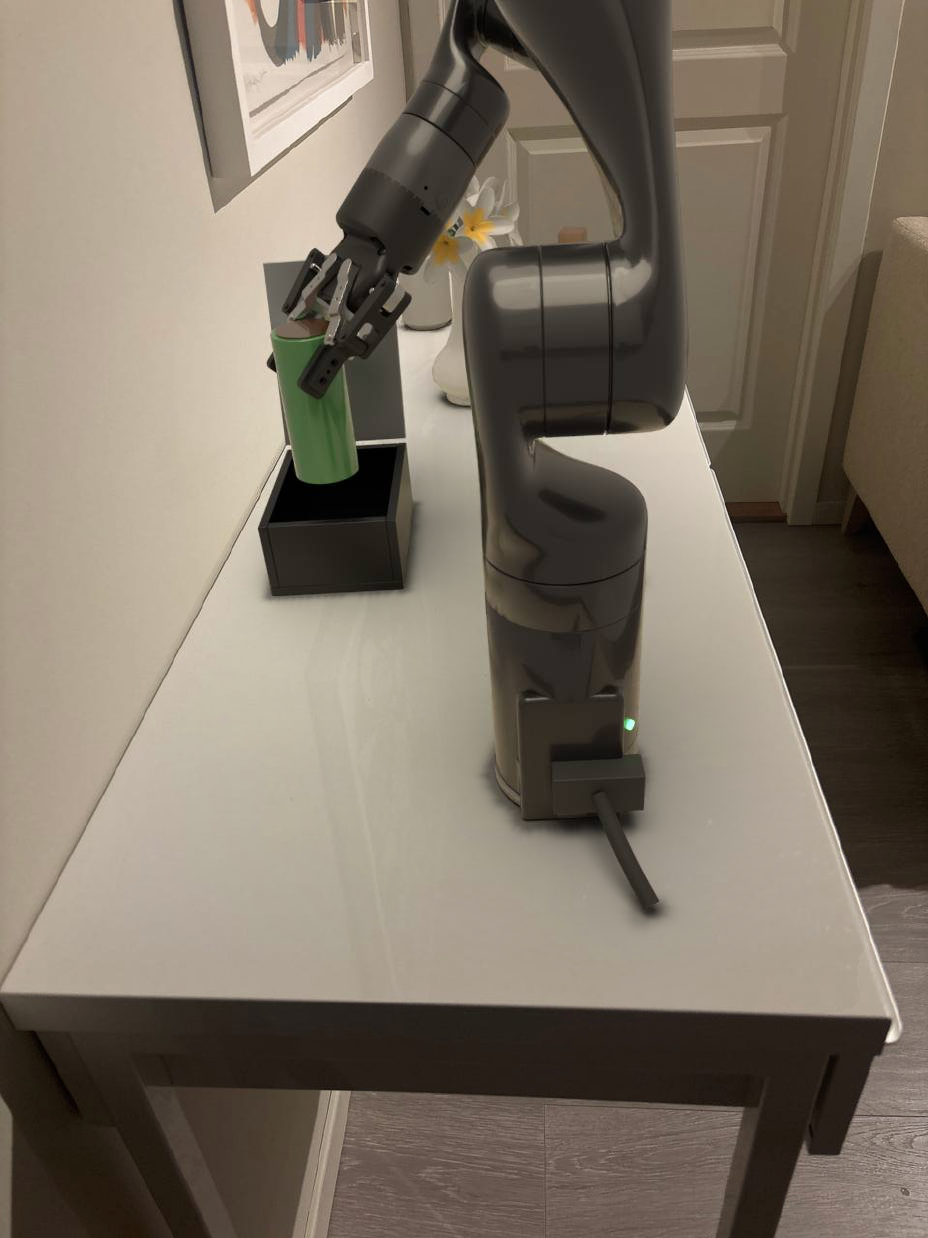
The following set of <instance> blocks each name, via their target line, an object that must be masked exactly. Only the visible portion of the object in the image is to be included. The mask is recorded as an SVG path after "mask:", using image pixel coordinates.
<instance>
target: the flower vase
mask: <svg viewBox="0 0 928 1238" xmlns="http://www.w3.org/2000/svg"><path fill="white" fill-rule="evenodd" d="M468 189H469V192H467V194H466V198H465V196H464V197H463V199H462V201H461V203H460V205H459V206H458V208H457V210H456V211H455V213H454V214H453V216H452V218H451V219H450V221H449V222H448V224H447V226H446V227H445V229H444V230H443V232H442V234H441V235H440V237H439V238H438V240H437V242H436V243H435V245H434V246H433V248H432V250H431V251H430V253H429V255H431V254H432V255H431V256H430V257H429V259H428V261H427V263H426V265H425V268H424V272H423V277H424V281H425V283H427V284H429V285H431V284H434V283H436V282H437V281H438V280H439V279H440V277H441V276H442V274H443V272H444V270H445V267H446V264H447V267H448V270H449V274H450V277H451V278H450V279H451V281H450V282H451V306H452V318H451V320H452V321H451V327H450V333H449V336H448V338H447V341H446V344H445V345H444V347H443V348H441V350H440V351H439V353H438V354H437V356H436V357H435V358H434V361H433V364H432V367H431V368H432V369H431V377H432V380H433V382H434V383H435V385H436V386H437V387H438V388H439V389H440V390H441V391H442V392H443V393H445V394H446V399H447V400H448V401H449V403H452V404H454V405H458V406H467V407H471V405H470V398H469V390H468V383H467V375H466V368H465V357H464V347H463V336H462V298H463V288H464V283H465V279H466V275H467V272H468V269H469V267H470V265H471V263H472V262H473V260H474V258H475V257H476V256H477V255H478V254H479V253H478V252H479V250H480V252H483V251H485V250H488V249H492V248H498V246H497V243H496V241H495V239H494V238H493V237H492V236H503V237H504V238H505V240H506V241H507V243H508V244H509V246H515V244H516V246H520V245H524V243H523V239H522V237H521V234H520V232H519V230H518V229H517V227H516V226H515V222H517V220H518V219H519V216H520V211H521V209H520V204H519V202H518V201H517V200H513V201H511V202H509V197H510V189H509V182H508V180H507V179H505V180H504V183H503V187H502V191H501V195H500V199H499V201H495V200H496V199H497V197H498V195H499V193H500V190H501V189H500V182H499V180H498V179H497V178H496V177H495V176H489V177H487V178H486V179H485V181H484V182H483V184H482V186H481V187H480V182H479V180H478V178H477V177H476V175H475V174H474V176H473V178H472V180H471V182H470V184H469V186H468ZM508 202H509V204H508ZM457 223H458V224H457ZM453 228H454V229H453ZM429 255H428V256H429Z"/></svg>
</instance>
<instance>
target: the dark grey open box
mask: <svg viewBox="0 0 928 1238" xmlns="http://www.w3.org/2000/svg"><path fill="white" fill-rule="evenodd" d="M356 446H357V453H358V460H359V469H358V471H357V472H356V473H355V474H354V475H353V476H351V477H349V478H347V479H345V480H342V481H339V482H335V483H329V484H311V483H306V482H303V481H301V480H300V479H298V477H297V476H296V472H295V467H294V461H293V456H292V450H291V448H290V449H287V450H286V453H285V455H284V458H283V461H282V462H281V466H280V468H279V470H278V474H277V476H276V479H275V482H274V484H273V487H272V488H271V492H270V494H269V497H268V500H267V502H266V505H265V507H264V510H263V513H262V516H261V518H260V521H259V524H258V526H257V531H258V537H259V541H260V546H261V550H262V554H263V558H264V564H265V570H266V572H267V579H268V583H269V587H270V592H271V596H292V595H293V596H294V595H307V594H308V595H310V594H312V595H313V594H328V593H329V594H331V593H348V592H349V593H351V592H365V591H366V592H369V591H387V590H388V591H389V590H403V589H405V582H406V573H407V563H408V554H409V547H410V546H409V545H410V537H411V535H410V534H411V528H412V518H413V511H414V510H413V509H414V500H413V491H412V490H413V489H412V483H411V482H412V481H411V473H410V463H409V462H410V461H409V453H408V445H407V442H405V441H404V442H391V443H390V442H389V443H375V444H373V443H371V444H360V445H359V444H356Z"/></svg>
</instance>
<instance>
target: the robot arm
mask: <svg viewBox="0 0 928 1238" xmlns="http://www.w3.org/2000/svg"><path fill="white" fill-rule="evenodd" d="M673 21H674V0H449V4H448V8H447V11H446V14H445V18H444V21H443V24H442V27H441V30H440V33H439V36H438V38H437V41H436V45H435V48H434V50H433V54H432V55H431V59H430V62H429V65H428V67H427V70H426V72H425V74H424V75H423V77H422V78H421V80H420V81H419V83H418V85H417V87H416V88H415V90H414V92H413V93H412V94H411V97H410V98H409V99H408V101H407V103H406V104H405V106H404V108H403V109H402V111H401V113H400V114H399V116H398V118H397V119H396V120H395V122H394V123H393V124H392V125H391V127H390V128H389V129H388V130H387V131H386V132H385V134H384V135H383V137H382V138H381V139H380V141H379V143H378V144H377V146H376V147H375V149H374V150H373V153H372V154H371V156H370V157H369V158H368V161H367V162H366V164H365V166H364V167H363V169H362V170H361V172H360V174H359V175H358V176H357V178H356V180H355V182H354V184H353V185H352V187H351V188H350V190H349V192H348V193H347V195H346V197H345V198H344V200H343V202H342V203H341V205H340V206H339V208H338V210H337V211H336V214H335V222H336V224H337V226H338V227H339V229H340V230H342V235H343V237H342V239H341V240H340V241H339V242H338V244H337V245H336V246H335V247H334V248H333V249H332V250H330V252H329V254H324V253H323V252H322V251H321V250H319V249H318V248H317V247H314V248H312V249H311V250H310V251H309V253H308V254H307V256H306V258H305V259H304V260H305V262H304V264H303V266H302V268H301V270H300V272H299V275H298V277H297V279H296V281H295V283H294V285H293V287H292V289H291V291H290V293H289V295H288V297H287V299H286V301H285V303H284V305H283V307H282V312H283V313H285V314H286V315H287V316H288V318H287V323H289V322H293V321H298V320H305V319H314V318H315V316H316V314H317V313H318V314H319V315H318V317H317V318H316V319H323V320H328V321H330V323H329V326H328V329H327V332H326V334H325V337H324V341H323V342H324V344H325V345H326V346H323V345H322V344H320V345H319V346H318V348H317V350H316V351H315V353H314V354H313V356H312V358H311V359H310V361H309V363H308V364H307V366H306V367H305V369H304V371H303V372H302V374H301V376H300V377H299V379H298V381H297V386H298V388H299V389H301V390H302V391H304V392H305V393H307V394H309V395H310V396H312V397H313V398H315V399H317V400H319V399H321V398H322V397H323V396H324V394H325V393H326V391H327V389H328V388H329V386H330V385H331V383H332V381H333V380H334V378H335V377H336V375H337V373H338V372H339V370H340V368H341V367H342V365H343V364H344V362H345V361H346V360H348V361H351V360H352V359H353V358H354V357H355V356H358V357H360V358H361V359H363V360H365V359H367V358H368V357H369V356H370V355H371V354H372V352H373V351H374V350H375V348H376V347H377V346H378V344H379V343H380V342H381V341H382V339H383V338H384V337H385V335H386V334H387V333H388V331H389V330H390V329H391V328H392V326H393V325H394V324H395V322H396V321H397V322H398V320H399V319H400V318H401V317H402V313H403V312H404V311H405V309H406V308H407V307H408V305H409V304H410V302H411V300H412V296H411V295H410V294H409V293H408V292H406V291H405V289H403V288H402V287H401V286H400V285H399V283H397V282H398V275H399V273H403V274H406V275H414V274H416V273H417V272H418V271H419V269H420V267H421V266H422V264H423V263H424V261H425V259H426V258H427V256H428V255H429V253H430V251H431V250H432V248H433V246H434V245H435V243H436V242H437V240H438V238H439V237H440V235H441V234H442V232H443V230H444V229H445V227H446V226H447V224H448V222H449V221H450V219H451V218H452V216H453V214H454V213H455V211H456V210H457V208H458V206H459V205H460V203H461V201H462V199H463V197H464V198H465V195H466V193H467V191H468V189H469V184H470V182H471V180H472V178H473V176H474V175H475V174H476V172H477V171H478V169H479V168H480V166H481V165H482V163H483V162H484V160H485V158H486V157H487V155H488V154H489V152H490V150H491V148H492V147H493V146H494V144H495V142H496V140H497V139H498V137H499V135H500V134H501V132H502V130H503V129H504V127H505V125H506V123H507V121H508V119H509V116H510V113H511V112H510V111H511V103H510V98H509V95H508V93H507V92H506V89H505V88H504V87H503V85H501V83H500V82H499V80H498V79H497V78H496V77H495V76H494V75H493V74H492V73H491V71H489V70H488V69H487V68H486V67H485V66H484V65H483V64H482V63H480V61H481V58H482V56H483V55H484V52H485V51H486V50H487V48H491V49H493V50H495V51H496V52H498V53H499V54H502V55H504V56H505V57H507V58H509V59H511V60H512V61H515V62H517V63H518V64H520V65H522V66H524V67H526V68H527V69H529V70H532V71H534V72H537V73H540V74H541V75H542V77H543V79H544V80H545V81H546V82H547V84H548V85H549V87H550V88H551V90H552V91H553V93H554V94H555V96H556V97H557V99H558V100H559V102H560V103H561V105H562V106H563V108H564V109H565V111H566V113H567V114H568V116H569V117H570V119H571V121H572V123H573V125H574V127H575V128H576V130H577V132H578V134H579V136H580V138H581V141H582V142H583V144H584V146H585V148H586V150H587V153H588V154H589V156H590V160H591V161H592V164H593V166H594V169H595V171H596V173H597V175H598V178H599V182H600V185H601V187H602V190H603V194H604V196H605V200H606V204H607V208H608V211H609V212H608V213H609V215H610V216H609V217H610V220H611V225H612V230H613V231H612V232H613V237H614V238H613V239H604V241H602V240H589V241H588V240H587V241H586V242H570V243H558V242H557V243H556V242H555V243H540V244H523V245H520V246H518V245H514V246H510V245H508V246H500V247H498V246H497V248H492V249H488V250H485V251H483V252H482V251H480V252H479V253H478V255H477V256H476V257H475V258H474V260H473V262H472V263H471V265H470V267H469V269H468V272H467V275H466V279H465V283H464V288H463V298H462V336H463V347H464V357H465V368H466V375H467V383H468V390H469V398H470V405H471V406H470V411H471V412H470V413H471V419H472V426H473V435H474V445H475V454H476V463H477V475H478V476H477V477H478V491H479V509H480V510H479V512H480V535H481V550H482V551H481V554H482V569H483V570H482V571H483V582H484V584H483V585H484V586H483V587H484V601H485V602H484V603H485V604H484V605H485V618H486V619H485V620H486V632H487V633H486V635H487V649H488V663H489V676H490V678H489V679H490V694H491V707H492V709H491V711H492V721H493V722H492V724H493V734H494V748H495V751H494V752H495V753H494V772H495V777H496V780H497V783H498V785H499V787H500V789H501V790H502V791H503V793H504V794H505V795H506V796H507V797H508V798H509V799H510V800H511V801H512V802H514V803H516V804H517V805H518V806H519V807H520V810H521V817H522V819H524V820H540V819H541V820H545V819H576V818H589V817H590V818H591V817H598V818H599V819H598V820H599V821H600V823H601V826H602V829H603V830H604V833H605V836H606V838H607V840H608V842H609V844H610V847H611V849H612V851H613V853H614V855H615V858H616V859H617V862H618V864H619V865H620V868H621V870H622V871H623V873H624V876H625V877H626V880H627V881H628V884H629V885H630V887H631V889H632V891H633V892H634V894H635V896H636V898H637V900H638V902H639V903H640V905H641V907H642V910H647V909H648V908H650V907H653V906H654V905H656V904H658V903H659V902H660V900H659V897H658V896H657V894H656V892H655V890H654V888H653V886H652V885H651V883H650V881H649V879H648V877H647V875H646V874H645V872H644V870H643V869H642V866H641V864H640V862H639V860H638V859H637V856H636V855H635V853H634V850H633V848H632V847H631V844H630V842H629V840H628V837H627V836H626V833H625V831H624V829H623V827H622V825H621V821H620V819H619V818H618V816H620V815H621V814H622V812H637V811H639V812H641V811H644V810H645V796H646V794H645V793H646V792H645V791H646V772H645V767H644V763H643V758H642V754H641V753H638V746H639V745H638V742H639V723H640V722H639V718H640V717H639V716H640V697H641V695H640V694H641V677H642V676H641V674H642V672H641V671H642V653H643V630H644V611H645V610H644V609H645V592H646V574H647V573H646V572H647V552H648V551H647V550H648V533H649V531H648V530H649V512H648V506H647V502H646V500H645V497H644V494H643V493H642V492H641V490H640V489H639V488H638V487H637V486H636V485H635V484H634V483H633V482H632V481H630V479H628V478H626V477H625V476H623V475H621V474H619V473H617V472H615V471H614V470H611V469H608V468H606V467H603V466H600V465H597V464H595V463H591V462H587V461H584V460H582V459H578V458H576V457H574V456H570V455H569V454H565V453H563V452H561V451H559V450H557V449H555V447H552V446H550V445H549V444H547V443H546V442H545V441H544V440H542V438H546V439H549V438H550V439H551V438H569V437H570V438H571V437H591V436H594V437H595V436H604V435H606V436H608V435H612V436H613V435H617V436H618V435H632V434H633V435H635V434H647V433H654V432H657V431H662V430H664V429H666V428H668V426H670V425H671V424H672V423H673V421H674V420H675V419H676V417H677V416H678V415H679V411H680V410H681V406H682V403H683V400H684V396H685V391H686V385H687V379H688V367H689V366H688V365H689V352H690V351H689V346H690V345H689V341H690V339H689V338H690V337H689V336H690V335H689V334H690V333H689V332H690V331H689V313H688V312H689V311H688V295H687V293H688V291H687V276H686V275H687V274H686V264H685V263H686V262H685V249H684V248H685V247H684V234H683V223H682V209H681V208H682V207H681V196H680V195H681V193H680V180H679V167H678V154H677V152H678V151H677V139H676V138H677V137H676V125H675V124H676V122H675V107H674V105H675V104H674V103H675V102H674V74H673V68H674V67H673V62H674V61H673V55H674V53H673V50H674V49H673V47H674V46H673V44H674V43H673V39H674V38H673V37H674V36H673V34H674V33H673V32H674V31H673V28H674V27H673V25H674V24H673ZM301 295H302V297H303V300H302V301H301V302H300V303H299V304H298V305H297V303H298V301H299V299H300V297H301ZM380 309H381V310H382V311H381V312H380ZM343 326H344V327H345V328H344V329H343V331H342V332H341V330H342V327H343ZM372 326H373V327H374V328H373V330H372V331H371V328H372ZM370 331H371V333H370ZM369 333H370V334H369ZM365 334H369V335H368V336H367V338H366V339H365V340H363V339H362V337H363V335H365ZM266 366H267V368H268V369H269V370H271V371H273V372H274V373H275V374H277V370H276V365H275V360H274V354H273V351H272V352H271V353H270V355H269V357H268V358H267V360H266Z"/></svg>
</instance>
